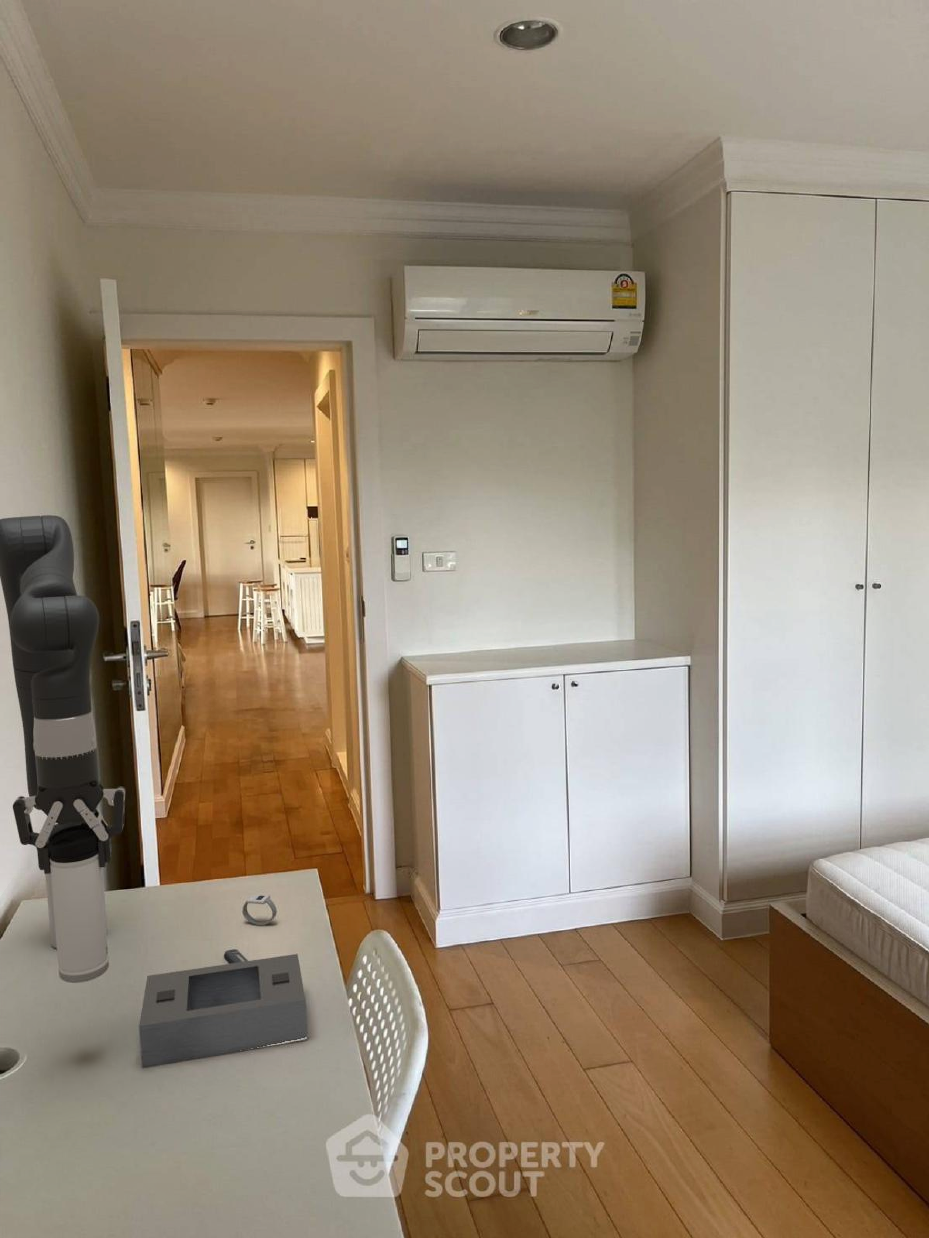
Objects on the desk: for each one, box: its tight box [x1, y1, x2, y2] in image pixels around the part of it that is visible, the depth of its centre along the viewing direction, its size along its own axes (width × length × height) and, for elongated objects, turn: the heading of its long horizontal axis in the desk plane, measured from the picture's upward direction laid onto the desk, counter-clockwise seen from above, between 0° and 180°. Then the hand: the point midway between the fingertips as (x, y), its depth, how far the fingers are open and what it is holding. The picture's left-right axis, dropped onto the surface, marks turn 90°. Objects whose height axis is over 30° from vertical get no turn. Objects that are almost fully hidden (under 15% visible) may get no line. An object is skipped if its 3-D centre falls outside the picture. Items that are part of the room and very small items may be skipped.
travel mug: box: [49, 822, 110, 984], centre depth 125 cm, size 6×7×20 cm
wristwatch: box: [242, 893, 277, 926], centre depth 167 cm, size 6×3×5 cm, turn 77°
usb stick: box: [223, 948, 249, 964], centre depth 152 cm, size 10×3×2 cm, turn 35°
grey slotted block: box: [138, 953, 308, 1069], centre depth 133 cm, size 14×22×6 cm, turn 104°
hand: (76, 868), depth 124 cm, fingers closed on travel mug, 6 cm apart
